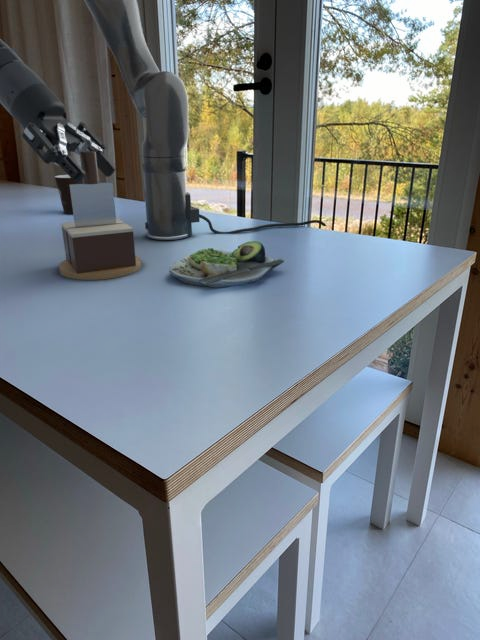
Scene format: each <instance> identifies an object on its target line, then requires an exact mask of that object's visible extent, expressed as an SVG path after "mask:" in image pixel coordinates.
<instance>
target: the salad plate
mask: <svg viewBox="0 0 480 640" xmlns="http://www.w3.org/2000/svg"><path fill="white" fill-rule="evenodd" d="M283 263H285V260H284V259H277V260H275V259H274V258H273V257H271V256H270V255H269V256H268V255H266V249H265V246H264V244H263V243H262V242H261V241H257V240H253V241H247V242H244V243H242V244H240V245H237V248H236V249H234V250H233V251H229V250H221V249H215V248H213V247H211V248H210V247H209V248H207V249H206V248H203V249H200V250H197V251H195V252H191V253H190V254H188V255H186V256H185V257H182V258H181V259H179V260H178V261H176V262H174V263H172V264H171V265H169V267H168V269H169V273H170V274H171V275H172V276H174V277H175V278H177V279H178V280H179V281H181V282H182V283H184V284H187V285H191V286H199V287H207V288H208V287H209V288H225V287H226V288H227V287H236V286H243V285H249V284H253V283H256V282H257V281H259V280H260V279H262V278H263V277H264V276H265V275H267V274H268V273H269V272H270V271H272V270H273V269H275V268H276V267H278V266H280V265H281V264H283Z"/></svg>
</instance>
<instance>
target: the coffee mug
mask: <svg viewBox="0 0 480 640" xmlns="http://www.w3.org/2000/svg"><path fill="white" fill-rule="evenodd" d="M54 179H55V182H56V183H55V184H56V187H57V191H58V195H59V198H60V201H61V206H62V209H63V214H64V215H72V216H74V215H73V207H72V200H71V192H70V184H83V179H82V180H81V182H75V181H74V180H73V179H72V178H71V177H70V176H69V175H68V174H60V175H55V176H54Z"/></svg>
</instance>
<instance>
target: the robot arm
mask: <svg viewBox="0 0 480 640" xmlns="http://www.w3.org/2000/svg"><path fill="white" fill-rule="evenodd" d="M83 1H84V3H85V5H86V7H87V9H88V11H89V12H90V14H91V16H92V18H93V20H94V22H95V24H96V26H97V28H98V29H99V32H100V34H101V36H102V37H103V39H104V41H105V43H106V44H107V46H108V48H109V50H110V52H111V54H112V56H113V57H114V60H115V62H116V64H117V67H118V68H119V71H120V73H121V76H122V79H123V81H124V83H125V86H126V88H127V91H128V94H129V96H130V99H131V101H132V103H133V106H134V108H135V109H136V111H137V112H138V114H139V115H140V116H142V117H143V118H144V119H145V128H146V132H145V137H144V139H143V141H142V142H141V160H142V161H141V162H142V173H143V190H144V199H145V200H144V201H145V214H146V215H145V216H146V222H144V225H145V230H146V231H147V232H146V235H147V238H149V239H151V240H155V241H156V240H157V241H175V240H182V239H185V238H189V237H192V236H193V231H192V230H193V227H192V224H194V223H200V219H202V220H204V221H205V222H206V223H207V224H208V226H209V230H210V231H211V232H212V233H214V234H216V235H217V234H218V235H229V234H230V235H232V234H233V235H234V234H240V233H247V232H253V231H257V230H261V229H265V228H266V229H267V228H274V227H296V226H297V227H298V226H299V227H301V226H306V225H310V224H320V225H321V226H322V227H327V224H326V223H325V222H324V221H322V220H319V219H312V220H311V219H310V220H306V221H302V222H280V223H279V222H277V223H269V224H268V223H267V224H262V225H258V226H253V227H246V228H241V229H240V228H239V229H236V230H230V231H219V230H216V229H215V228H214V227H213V224H212V221H211V220H210V219H209V218H208V217H206V216H204V215H203V214H200V209H199V208H198V207H195V206H192V199H191V197H192V196H191V193H190V192H188V184H187V183H188V181H187V161H186V149H187V146H188V145H187V144H188V141H189V96H188V92H187V88H186V85H185V83H184V81H183V80H182V79H181V78H180V76H179V75H177V74H175V73H174V72H172V71H167V70H161V71H160V69H159V67H158V65H157V64H156V62H155V59H154V58H153V55H152V53H151V51H150V49H149V47H148V44H147V42H146V39H145V34H144V29H143V26H142V25H143V23H142V19H141V14H140V13H141V12H140V7H139V3H138V0H83ZM0 104H1V106H2V107H3V108H4V109H5V110H6V111H7V112H8V113H9V114H10V116H11V117H12V118H13V119H14V120H15V121H16V122H17V123H18V124H19V126H21V128H22V129H23V132H22V134H21V137H22V138H23V139H24V140H25V141H26V143H27V144H28V145H29V146H30V148H31V149H32V150H33V151H34V152H35V153H36V154H37V156H38V157H39V158H40V159H41V161H42V162H43V163H45V164H47V165H49V164H51V163H53V165H55V166H57V167H60V168H61V169H62V170H63V171H64V172H65V173H66V175H69V176H70V177H71V178H72V179H73V180H74V181H75V182H81V180H82V179H83V178H84V176H85V171H84V170H83V169H82V168H81V165H80V164H79V163H78V162H77V161H76V160H75V159H74V158H73V157H72V156H71V155H68V154H69V152H70V153H74V154H76V155H77V156H79V157H80V153H79V152H82V151H95V152H96V157H97V166H98V170H100V172H101V173H102V174H103V175H104V176H105V177H107V178H108V177H112V176H113V174H114V173H115V171H116V166H115V165H114V164H113V163H112V161H111V160H110V159H109V158H108V157H107V156H106V155H105V154H104V151H105V150H106V148H107V145H106V144H105V143H104V142H103V141H102V140H101V139H100V138H99V137H98V135H96V134H95V133H94V131H92V129H91V128H89V126H88V125H87V124H86V123H84V122H83V121H80V122H79V123H78V125H75V124H74V123H72V122H71V121H70V120H68V118H67V109H66V108H67V107H66V105H65V104H64V103H63V102H62V100H60V98H59V97H58V96H57V95H56V94H55V93H54V92H53V91H52V90H51V89H50V87H48V85H47V84H46V83H45V82H44V81H43V79H42V78H41V77H40V76H39V75H38V74H37V73H36V72H35V71H33V69H31V68H30V67H29V66H28V65H27V64H26V63H25V62H24V61H23V60H22V59H21V57H20V56H19V55H17V53H16V52H15V51H14V50H13V49H12V48H11V47H10V46H9V45H8V44H7V43H6V42H5V41H3V40H2V39H1V38H0ZM44 147H45V149H46V152H45V151H44Z"/></svg>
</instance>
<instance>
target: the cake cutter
mask: <svg viewBox="0 0 480 640" xmlns="http://www.w3.org/2000/svg"><path fill="white" fill-rule="evenodd" d="M79 153H80V156H79V161H80V167H81V168H82V169H83V170H84V171H85V176H84V178H83V184H70V192H71V200H72V207H73V215H72V216H73V222H75V227H84V226H95V225H106V224H116V218H117V216H116V206H115V205H116V204H115V194H114V185H113V182H112V181H109V182H108V181H107V182H100V178H99V177H100V176H99V168H98V166H97V157H96V152H95V151H89V150H87V151H82V152H79Z"/></svg>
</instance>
